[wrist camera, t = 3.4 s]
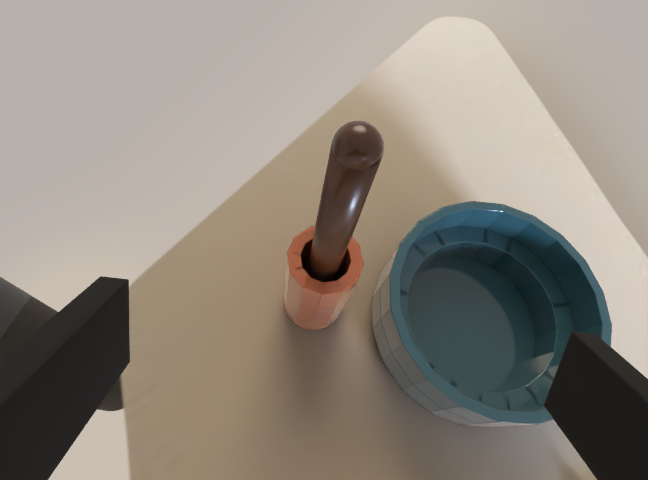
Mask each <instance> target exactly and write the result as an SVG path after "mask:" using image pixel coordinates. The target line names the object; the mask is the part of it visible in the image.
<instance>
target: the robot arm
mask: <svg viewBox="0 0 648 480" xmlns="http://www.w3.org/2000/svg"><path fill="white" fill-rule="evenodd" d="M128 282H129V281H128V280H127V279H119V278H110V277H100V278H98V279H97V280H96V281H95V282H94V283H92V284H91V285H90V286H89V287H88V288H87V289H85V290H84V291H83V292H82V293H81V294H80V295H78V296H77V297H76V298H75V299H74V300H73V301H71V302H70V303H69V304H68V305H67V306H65V307H64V308H63V309H62V310H61V311H60V312H58V313H57V314H56V315H55V316H54V317H53V318H51V319H50V320H49V321H48V322H47V323H46V324H44V325H43V326H42V327H41V328H40V329H38V330H37V331H36V332H35V333H34V334H33V335H31V336H30V337H29V338H28V339H27V340H26V341H24V342H23V343H22V344H21V345H20V346H19V347H17V348H16V349H15V350H14V351H13V352H11V353H10V354H9V355H8V356H7V357H6V358H4V359H3V360H2V361H1V362H0V480H48V479H49V477H50V476H51V474H52V473H53V471H54V470H55V468H56V467H57V466H58V464H59V463H60V461H61V460H62V458H63V457H64V456H65V454H66V453H67V451H68V450H69V448H70V447H71V445H72V444H73V443H74V441H75V440H76V438H77V437H78V435H79V434H80V432H81V431H82V430H83V428H84V427H85V425H86V424H87V422H88V421H89V419H90V418H91V416H92V415H93V414H94V412H95V411H96V409H97V408H98V407H99V405H100V404H101V402H102V401H103V399H104V398H105V397H106V395H107V394H108V392H109V391H110V389H111V388H112V386H113V385H114V384H115V382H116V381H117V379H118V378H119V376H120V375H121V373H122V372H123V371H124V369H125V368H126V366H127V365H128V363H129V362H130V351H129V283H128ZM544 406H545V408H546V409H547V411H548V412H549V413H550V415H551V416H552V418H553V419H554V420H555V422H556V423H557V424H558V426H559V427H560V429H561V430H562V431H563V433H564V434H565V435H566V437H567V438H568V440H569V441H570V442H571V444H572V445H573V446H574V448H575V449H576V451H577V452H578V453H579V455H580V456H581V458H582V459H583V460H584V462H585V463H586V464H587V466H588V467H589V469H590V470H591V471H592V473H593V474H594V475H595V477H596V478H597V480H648V379H647V378H646V377H645V376H643V375H642V374H641V373H640V372H639V371H638V370H637V369H635V368H634V367H633V366H632V365H631V364H630V363H628V362H627V361H626V360H625V359H624V358H623V357H622V356H620V355H619V354H618V353H617V352H616V351H615V350H613V349H612V348H611V347H610V346H609V345H608V344H607V343H605V342H604V341H603V340H602V339H601V338H600V337H598V336H597V335H596V334H590V333H581V332H571V335H570V337H569V340H568V342H567V345H566V348H565V350H564V353H563V356H562V358H561V361H560V364H559V366H558V369H557V371H556V374H555V377H554V379H553V382H552V385H551V387H550V390H549V393H548V395H547V398H546V400H545V403H544Z"/></svg>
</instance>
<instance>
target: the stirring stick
mask: <svg viewBox="0 0 648 480" xmlns="http://www.w3.org/2000/svg"><path fill="white" fill-rule="evenodd" d="M383 151H384V143H383V139H382V137H381V134H380V133H379V131H378V130H377V129H376V128H375V127H374V126H372V125H371V124H369V123H367V122H363V121H354V122H349V123H347V124H345V125H344V126H342V127H341V128H340V129H339V130H338V131H337V132H336V134H335V136H334V138H333V141H332V145H331V150H330V155H329V160H328V165H327V170H326V175H325V180H324V186H323V191H322V196H321V201H320V206H319V211H318V216H317V221H316V226H315V231H314V236H313V241H312V246H311V251H310V256H309V261H308V266H307V271H306V272H307V273H308V275H309V276H310V277H311V278H313V279H316V280H318V281H321V282H329V281H335V278H336V276H337V273H338V270H339V268H340V265H341V263H342V260H343V257H344V255H345V252H346V250H347V247H348V244H349V242H350V239H351V237H352V234H353V232H354V229H355V226H356V224H357V221H358V219H359V216H360V213H361V211H362V208H363V206H364V203H365V200H366V198H367V195H368V193H369V190H370V187H371V185H372V182H373V180H374V177H375V174H376V172H377V169H378V167H379V164H380V161H381V159H382V156H383Z"/></svg>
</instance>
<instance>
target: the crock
mask: <svg viewBox="0 0 648 480" xmlns="http://www.w3.org/2000/svg"><path fill="white" fill-rule="evenodd" d="M314 231H315V226H310V227H309V228H307V229H306V230H304V231H303V232H301V233H300V234H298V235H297V236H296V237H294V239H293V241H292V244H291V246H290V248H289V250H288V252H287V262H286V275H285V288H284V299H285V300H284V303H285V309H286V312H287V314H288V316H289V317H290V319H291V320H292V321H293V322H294V323H295V324H297V325H298V326H300V327H302V328H305V329H309V330H318V329H323V328H325V327H327V326H329V325H330V324H332V323H333V322H334V321H335V320H336V319H337V317H338V316H339V315H340V313H341V311H342V309H343V307H344V305H345V303H346V301H347V300H348V298H349V296H350V294H351V292H352V290H353V288H354V286H355V284H356V283H357V281H358V278H359V275H360V273H361V270H362V267H363V258H362V254H361V249H360V246H359V244H358V243H357V242H356V241H355V240H354V239H353V238H352V237H351V239H350V242H349V244H348V247H347V250H346V252H345V255H344V257H343V260H342V263H341V265H340V268H339V270H338V273H337V276H336V278H335V281H329V282H321V281H318V280H316V279H313V278H311V277H310V276H309V275H308V273H307V272H306V271H307V266H308V261H309V256H310V251H311V246H312V241H313V236H314Z"/></svg>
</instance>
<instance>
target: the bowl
mask: <svg viewBox="0 0 648 480" xmlns="http://www.w3.org/2000/svg"><path fill="white" fill-rule="evenodd" d="M372 328H373V333H374V336H375V339H376V342H377V345H378V349H379V352H380V355H381V358H382V360H383V362H384V364H385V365H386V367H387V368H388V370H389V371H390V373H391V374H392V376H393V377H394V379H395V380H396V382H397V383H398V385H399V386H400V388H401V389H402V390H403V391H404V392H406V393H407V394H408V395H409V396H410V397H412V398H413V399H414V400H415V401H417V402H418V403H419V404H420V405H421V406H423V407H424V408H425V409H426V410H427V411H429V412H430V413H433V414H435V415H438V416H440V417H442V418H445V419H447V420H450V421H452V422H455V423H457V424H460V425H466V426H483V427H502V426H518V425H534V424H540V423H543V422H546V421H549V420H552V419H553V418H552V416H551V415H550V413H549V412H548V411H547V409H546V408H545V406H544V403H545V400H546V398H547V395H548V393H549V390H550V387H551V385H552V382H553V379H554V377H555V374H556V371H557V369H558V366H559V364H560V361H561V358H562V356H563V353H564V350H565V348H566V345H567V342H568V340H569V337H570V335H571V332H581V333H590V334H596V335H597V336H598V337H600V338H601V339H602V340H603V341H604V342H605V343H607V344H608V345H609V346H610V347H611V333H612V324H611V320H610V316H609V312H608V308H607V304H606V300H605V296H604V293H603V290H602V289H601V287H600V285H599V283H598V281H597V280H596V278H595V276H594V274H593V272H592V271H591V269H590V267H589V265H588V264H587V262H586V260H585V259H584V258H583V257H582V256H581V255H580V254H579V253H578V252H577V251H576V249H575V248H574V247H573V246H572V245H571V244H570V243H569V242H568V241H567V240H566V239H565V238H564V236H563V235H561V234H560V233H558V232H557V231H555V230H554V229H552V228H551V227H549V226H548V225H547V224H545V223H544V222H542V221H541V220H539V219H538V218H536V217H535V216H533V215H530V214H528V213H525V212H522V211H520V210H517V209H514V208H512V207H509V206H506V205H503V204H496V203H486V202H476V201H470V202H465V203H460V204H455V205H450V206H445V207H442V208H440V209H438V210H436V211H435V212H433V213H431V214H430V215H428V216H426V217H424V218H423V219H421V220H419V221H418V222H417V223H416V224H415V225H414V227H413V228H412V229H411V230H410V232H409V233H408V234H407V235H406V236H405V238H404V239H403V240H402V241H401V243H400V244H399V246H398V247H397V249H396V250H395V252H394V253H393V255H392V256H391V258H390V260H389V261H388V263H387V264H386V266H385V267H384V269H383V270H382V272H381V274H380V277H379V280H378V283H377V286H376V289H375V292H374V295H373V299H372Z"/></svg>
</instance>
